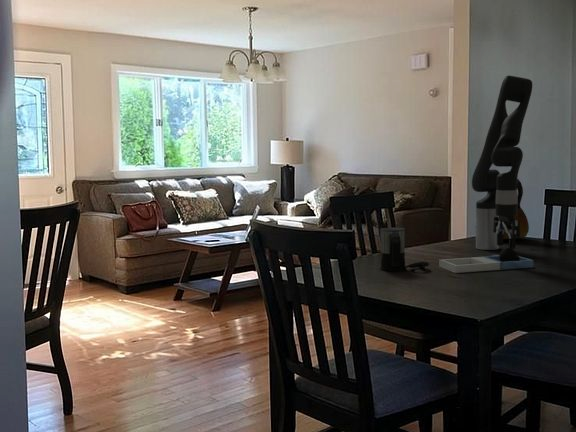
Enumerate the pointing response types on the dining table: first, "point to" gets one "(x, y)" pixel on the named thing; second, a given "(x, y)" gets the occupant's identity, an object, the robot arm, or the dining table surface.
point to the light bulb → (508, 255)
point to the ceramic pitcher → (520, 215)
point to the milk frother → (395, 250)
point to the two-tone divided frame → (482, 264)
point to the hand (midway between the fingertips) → (505, 246)
